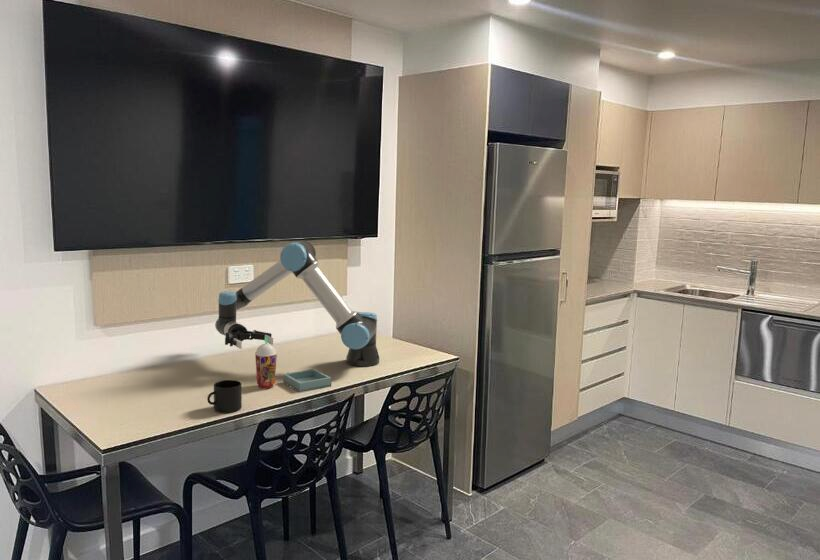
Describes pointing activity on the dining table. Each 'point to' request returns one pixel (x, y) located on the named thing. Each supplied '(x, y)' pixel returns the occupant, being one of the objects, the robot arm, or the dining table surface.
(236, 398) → the mug
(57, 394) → the dining table surface
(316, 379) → the bin
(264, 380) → the smoothie
